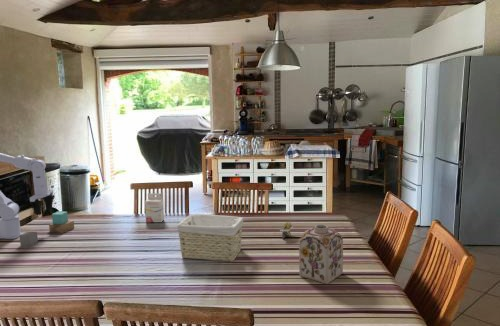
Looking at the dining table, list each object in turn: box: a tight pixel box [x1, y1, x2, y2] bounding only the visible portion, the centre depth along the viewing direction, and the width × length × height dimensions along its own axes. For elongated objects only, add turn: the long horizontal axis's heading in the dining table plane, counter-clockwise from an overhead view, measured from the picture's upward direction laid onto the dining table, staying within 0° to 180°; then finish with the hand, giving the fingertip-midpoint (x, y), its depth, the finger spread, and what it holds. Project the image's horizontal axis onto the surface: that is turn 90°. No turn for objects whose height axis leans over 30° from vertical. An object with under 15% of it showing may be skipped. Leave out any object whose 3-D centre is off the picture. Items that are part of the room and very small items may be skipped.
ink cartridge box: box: [144, 192, 165, 224], centre depth 216 cm, size 9×5×15 cm, turn 84°
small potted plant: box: [279, 221, 294, 240], centre depth 188 cm, size 12×18×7 cm, turn 158°
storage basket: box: [176, 213, 244, 262], centre depth 168 cm, size 24×16×15 cm
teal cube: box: [51, 210, 69, 224], centre depth 206 cm, size 5×5×5 cm
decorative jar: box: [298, 224, 344, 285], centre depth 146 cm, size 12×12×18 cm
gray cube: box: [19, 231, 39, 247], centre depth 187 cm, size 5×5×5 cm
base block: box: [48, 220, 75, 234], centre depth 207 cm, size 8×8×4 cm
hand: (43, 212), depth 201 cm, fingers open, 7 cm apart
